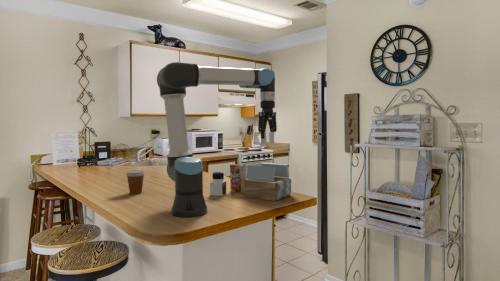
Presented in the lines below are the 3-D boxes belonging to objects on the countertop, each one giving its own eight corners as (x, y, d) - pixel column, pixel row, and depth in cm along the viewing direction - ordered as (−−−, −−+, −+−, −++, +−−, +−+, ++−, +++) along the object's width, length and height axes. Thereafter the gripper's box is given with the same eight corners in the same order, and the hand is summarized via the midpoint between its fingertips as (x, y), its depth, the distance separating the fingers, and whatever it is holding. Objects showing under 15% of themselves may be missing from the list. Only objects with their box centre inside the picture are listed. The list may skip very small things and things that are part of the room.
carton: (276, 201, 160) (276, 183, 160) (243, 196, 172) (243, 179, 172) (292, 195, 173) (292, 178, 173) (260, 190, 185) (260, 175, 185)
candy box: (229, 191, 184) (229, 164, 184) (235, 190, 188) (235, 163, 187) (240, 193, 178) (240, 165, 177) (246, 192, 181) (246, 165, 180)
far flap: (287, 177, 174) (286, 165, 172) (262, 174, 183) (260, 163, 181) (289, 176, 174) (287, 164, 173) (263, 174, 184) (261, 162, 182)
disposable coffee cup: (123, 194, 178) (122, 172, 177) (133, 190, 187) (132, 170, 186) (138, 195, 175) (138, 173, 175) (148, 191, 185) (147, 170, 184)
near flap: (247, 178, 171) (249, 165, 172) (273, 181, 162) (275, 167, 163) (246, 178, 170) (248, 165, 171) (272, 181, 161) (274, 167, 162)
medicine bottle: (222, 196, 173) (222, 173, 172) (209, 195, 174) (209, 173, 173) (226, 193, 180) (226, 171, 179) (213, 192, 181) (213, 171, 180)
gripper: (263, 99, 160) (263, 146, 161) (283, 101, 176) (283, 143, 177) (250, 99, 164) (250, 145, 165) (271, 101, 180) (271, 143, 182)
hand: (267, 144), depth 171 cm, fingers open, 7 cm apart
